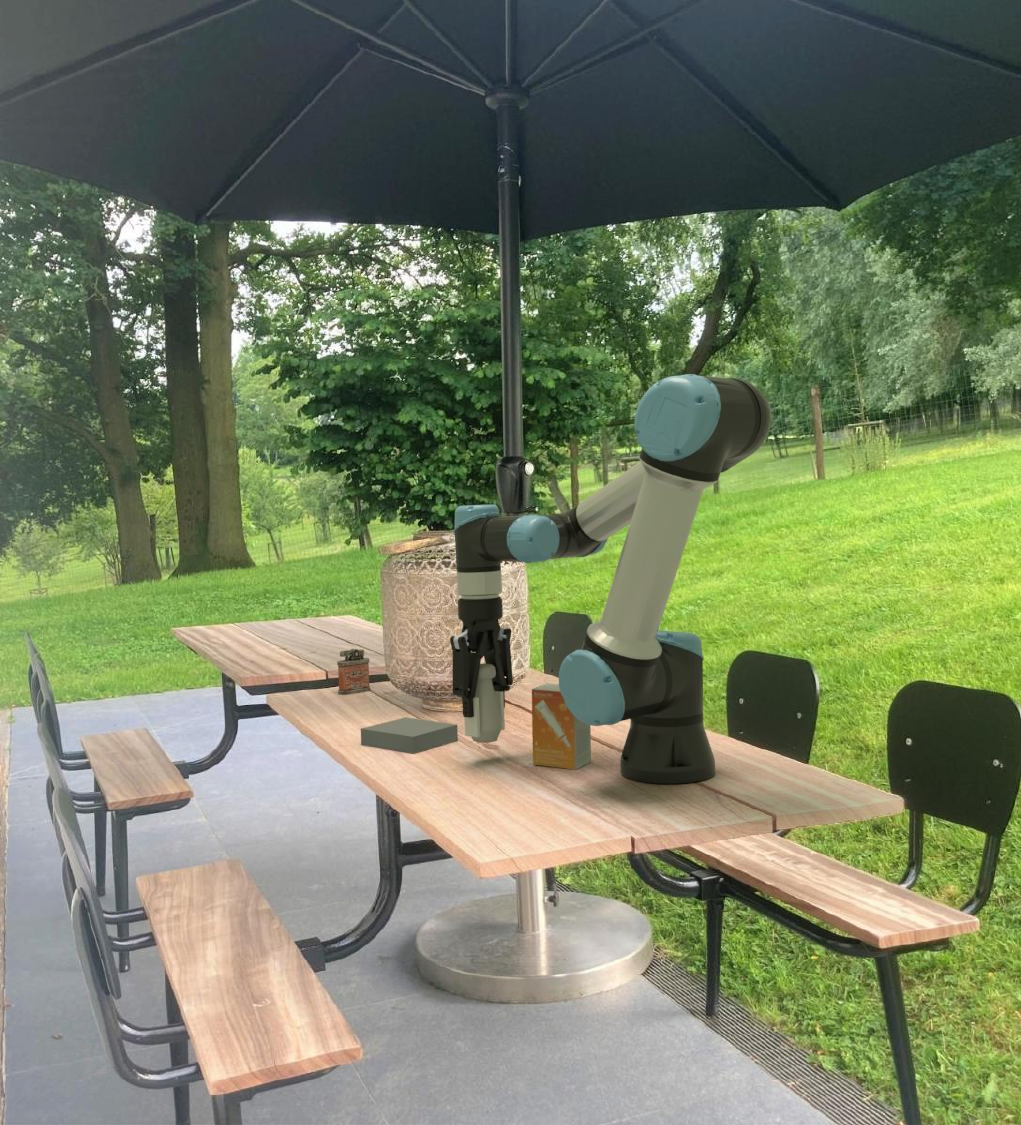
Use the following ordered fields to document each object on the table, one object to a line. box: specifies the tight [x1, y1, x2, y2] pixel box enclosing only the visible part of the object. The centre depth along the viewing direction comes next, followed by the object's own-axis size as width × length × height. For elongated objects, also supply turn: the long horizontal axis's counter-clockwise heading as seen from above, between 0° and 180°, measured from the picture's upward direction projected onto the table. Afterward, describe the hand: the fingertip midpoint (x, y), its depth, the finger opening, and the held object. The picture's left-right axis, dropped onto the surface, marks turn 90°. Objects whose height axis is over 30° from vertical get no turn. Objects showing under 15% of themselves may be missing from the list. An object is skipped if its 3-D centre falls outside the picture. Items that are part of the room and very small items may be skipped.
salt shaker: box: [470, 662, 502, 744], centre depth 200 cm, size 6×6×13 cm
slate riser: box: [360, 717, 459, 754], centre depth 217 cm, size 13×12×3 cm
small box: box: [531, 682, 592, 771], centre depth 198 cm, size 8×6×13 cm
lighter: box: [336, 647, 371, 696], centre depth 271 cm, size 8×3×10 cm, turn 130°
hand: (485, 732), depth 200 cm, fingers closed on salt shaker, 6 cm apart
